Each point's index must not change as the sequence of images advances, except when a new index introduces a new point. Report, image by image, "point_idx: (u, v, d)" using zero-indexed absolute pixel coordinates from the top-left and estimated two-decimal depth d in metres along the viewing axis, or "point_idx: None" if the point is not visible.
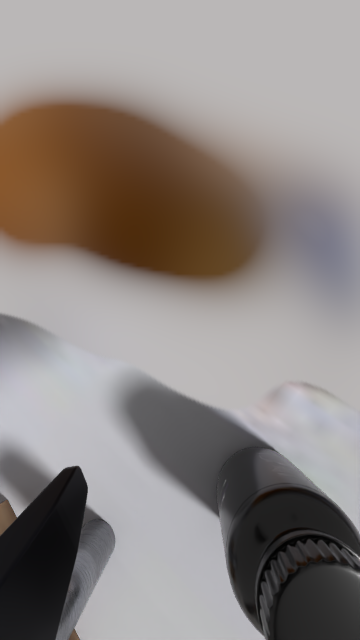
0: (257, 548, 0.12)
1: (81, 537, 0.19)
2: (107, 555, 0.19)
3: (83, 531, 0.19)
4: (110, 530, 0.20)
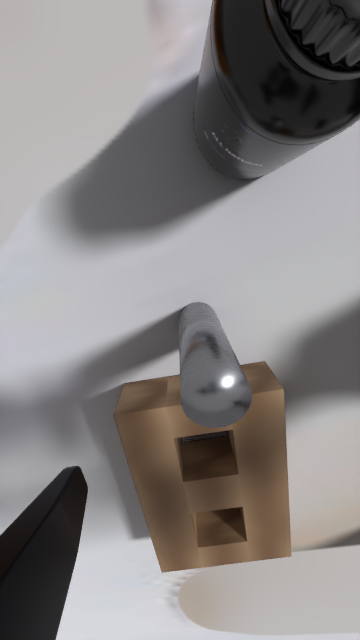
0: (260, 43, 0.08)
1: (180, 326, 0.18)
2: (209, 310, 0.18)
3: (179, 324, 0.19)
4: (195, 303, 0.20)
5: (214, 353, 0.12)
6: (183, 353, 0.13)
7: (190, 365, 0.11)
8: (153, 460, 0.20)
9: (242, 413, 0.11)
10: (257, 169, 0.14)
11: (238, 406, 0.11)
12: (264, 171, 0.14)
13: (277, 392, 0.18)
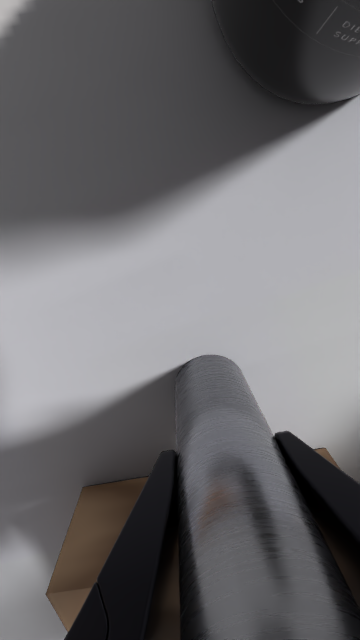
0: None
1: (177, 416, 0.09)
2: (235, 380, 0.09)
3: (175, 405, 0.10)
4: (205, 359, 0.10)
5: None
6: (191, 602, 0.04)
7: None
8: None
9: None
10: None
11: None
12: None
13: None
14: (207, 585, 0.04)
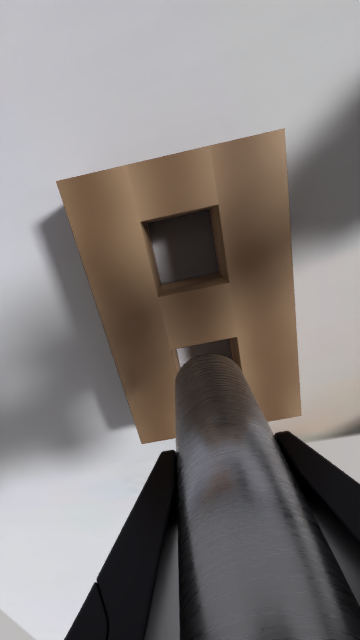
0: None
1: (177, 415, 0.09)
2: (235, 378, 0.09)
3: (175, 404, 0.10)
4: (205, 357, 0.10)
5: None
6: (190, 600, 0.04)
7: None
8: (116, 261, 0.15)
9: None
10: None
11: None
12: None
13: (276, 135, 0.13)
14: (207, 583, 0.04)
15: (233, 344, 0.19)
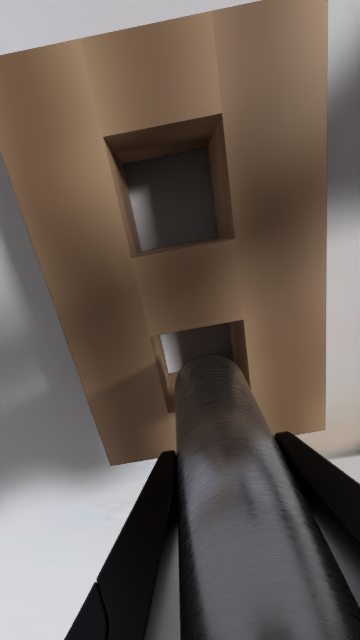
0: None
1: (177, 416, 0.09)
2: (235, 379, 0.09)
3: (175, 405, 0.10)
4: (205, 358, 0.10)
5: None
6: (191, 602, 0.04)
7: None
8: (69, 200, 0.10)
9: None
10: None
11: None
12: None
13: None
14: (207, 586, 0.04)
15: (236, 333, 0.14)
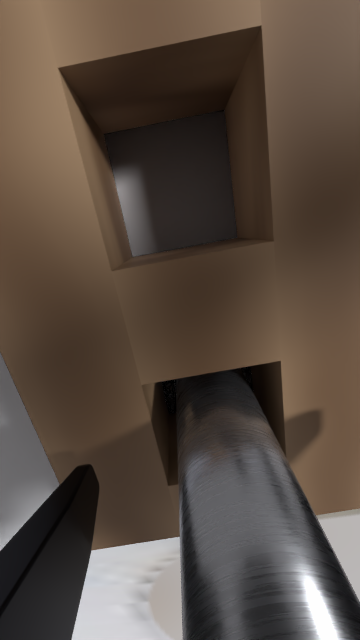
0: None
1: (177, 389, 0.10)
2: None
3: (176, 382, 0.11)
4: None
5: (285, 576, 0.04)
6: (188, 507, 0.06)
7: (215, 628, 0.04)
8: (7, 177, 0.06)
9: None
10: None
11: None
12: None
13: None
14: (200, 494, 0.05)
15: (262, 370, 0.10)
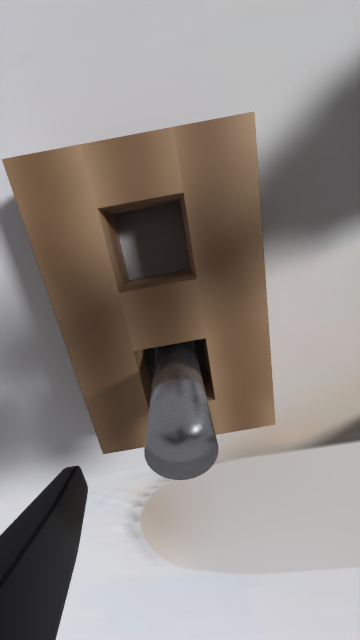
0: None
1: (155, 357, 0.17)
2: None
3: None
4: None
5: (180, 401, 0.11)
6: (152, 396, 0.13)
7: (156, 415, 0.11)
8: (72, 251, 0.14)
9: (208, 464, 0.11)
10: None
11: (204, 458, 0.11)
12: None
13: (245, 119, 0.12)
14: (157, 390, 0.13)
15: (204, 347, 0.18)
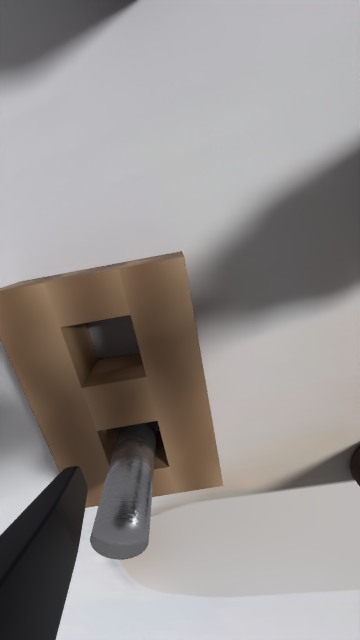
0: None
1: (119, 429, 0.20)
2: None
3: None
4: None
5: (122, 496, 0.14)
6: (105, 481, 0.16)
7: (101, 508, 0.14)
8: (41, 358, 0.17)
9: (142, 549, 0.14)
10: None
11: (138, 544, 0.14)
12: None
13: (177, 261, 0.15)
14: (109, 476, 0.16)
15: None
